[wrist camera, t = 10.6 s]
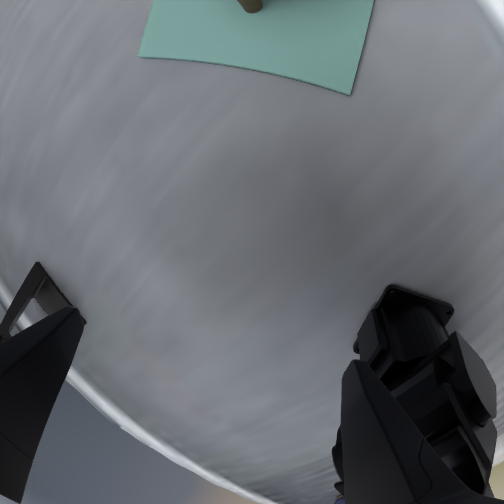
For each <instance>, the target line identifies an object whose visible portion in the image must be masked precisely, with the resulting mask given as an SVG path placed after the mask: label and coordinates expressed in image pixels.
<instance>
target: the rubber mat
mask: <svg viewBox="0 0 504 504" xmlns="http://www.w3.org/2000/svg"><path fill="white" fill-rule="evenodd" d="M261 1H262V4H263V7H262V9H261V10H260V11H259V12H257V13H247V12H246V11H245V10H244V9H243V8H242V6H241V5H240V3H239V2H238V1H237V0H154V2H153V5H152V8H151V11H150V14H149V17H148V20H147V23H146V27H145V30H144V34H143V37H142V41H141V44H140V48H139V52H138V56H137V57H140V58H157V59H173V60H185V61H195V62H204V63H212V64H219V65H226V66H232V67H238V68H244V69H249V70H254V71H259V72H264V73H269V74H273V75H278V76H282V77H286V78H290V79H294V80H298V81H302V82H305V83H309V84H312V85H316V86H319V87H323V88H326V89H329V90H332V91H336V92H339V93H342V94H345V95H348V96H349V95H350V93H351V89H352V86H353V82H354V78H355V75H356V71H357V67H358V63H359V59H360V55H361V52H362V48H363V44H364V40H365V36H366V32H367V27H368V23H369V19H370V15H371V10H372V6H373V1H374V0H261Z"/></svg>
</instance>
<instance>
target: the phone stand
mask: <svg viewBox="0 0 504 504" xmlns="http://www.w3.org/2000/svg"><path fill="white" fill-rule="evenodd" d="M32 298H35V299H36V300H37V302H38V303H39V304H40V306H41V307H42V308H43V309H44V311H45V312H46V313H47V314H48V316H49V315H51V314H53V313H54V312H56V311H58V310H60V309H62V308H63V307H65V306H72V307H73V305H72V304H71V303H70V302H69V301H68V299H67V298H66V297H65V296H64V294H63V293H60V289H59V288H58V287H57V286H56V284H55V283H54V282H53V280H52V279H51V278H50V276H49V275H48V274H47V272H46V271H45V270H44V268H43V267H42V266H41V264H40V263H39V262H36V263H35V264H34V266H33V267H32V269H31V271H30V272H29V274H28V276H27V277H26V279H25V280H24V282H23V284H22V286H21V287H20V289H19V291H18V293H17V294H16V296H15V298H14V300H13V301H12V303H11V305H10V307H9V309H8V311H7V313H6V315H5V317H4V319H3V321H2V323H1V324H0V344H1V343H2V342H4V341H6V340H7V339H9V338H11V337H12V336H11V335H10V332H11V330H12V329H13V327H14V325H15V324H16V322H17V321H18V319H19V317H20V316H21V314H22V313H23V311H24V309H25V308H26V306H27V305H28V303H29V302H30V300H31V299H32ZM81 319H82V322H83V326H84V325H85V323H86V321H85V319H84V318H83V317H82V316H81Z"/></svg>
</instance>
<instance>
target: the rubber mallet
mask: <svg viewBox="0 0 504 504" xmlns="http://www.w3.org/2000/svg"><path fill="white" fill-rule="evenodd" d="M334 504H345V497H344V496H343V495H341V496H338V498H337V500H336V501H335V503H334Z"/></svg>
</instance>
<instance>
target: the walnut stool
mask: <svg viewBox="0 0 504 504" xmlns="http://www.w3.org/2000/svg"><path fill="white" fill-rule="evenodd" d="M237 1H238V2H239V3H240V5H241V6H242V8H243V9H244V10H245V11H246V12H247V13H257V12H259V11H260V10H261V9H262V7H263V4H262V1H261V0H237Z"/></svg>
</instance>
